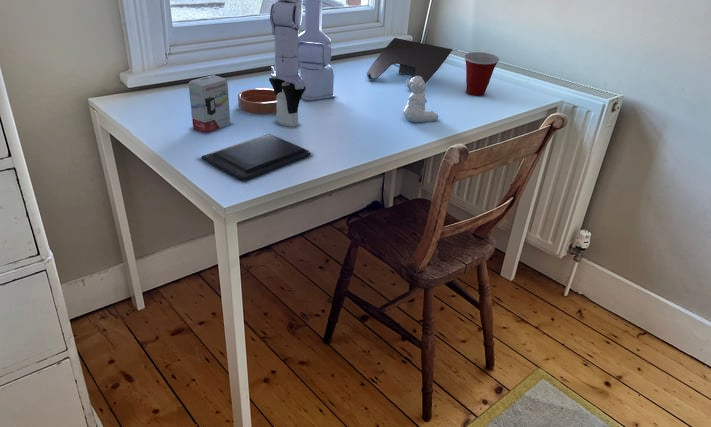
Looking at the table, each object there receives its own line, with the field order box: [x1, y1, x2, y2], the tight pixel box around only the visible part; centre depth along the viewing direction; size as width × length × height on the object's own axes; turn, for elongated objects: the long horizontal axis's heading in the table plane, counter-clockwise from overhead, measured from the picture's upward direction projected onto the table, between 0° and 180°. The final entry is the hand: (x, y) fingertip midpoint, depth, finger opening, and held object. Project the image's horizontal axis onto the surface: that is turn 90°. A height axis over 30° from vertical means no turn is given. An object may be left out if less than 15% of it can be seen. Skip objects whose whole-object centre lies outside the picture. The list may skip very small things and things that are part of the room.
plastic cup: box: [463, 51, 500, 97], centre depth 162 cm, size 11×11×12 cm
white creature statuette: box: [403, 76, 439, 123], centre depth 138 cm, size 10×9×12 cm
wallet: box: [201, 133, 311, 182], centre depth 113 cm, size 20×2×15 cm
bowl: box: [237, 88, 277, 115], centre depth 141 cm, size 13×13×4 cm
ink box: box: [188, 74, 231, 134], centre depth 125 cm, size 9×5×12 cm, turn 148°
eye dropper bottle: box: [276, 81, 299, 128], centre depth 129 cm, size 4×6×12 cm
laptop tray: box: [366, 37, 454, 92], centre depth 173 cm, size 23×23×9 cm
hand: (287, 109), depth 130 cm, fingers closed on eye dropper bottle, 5 cm apart
